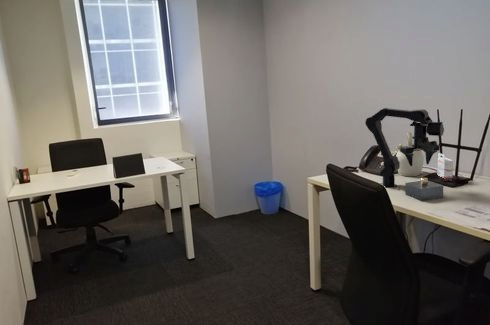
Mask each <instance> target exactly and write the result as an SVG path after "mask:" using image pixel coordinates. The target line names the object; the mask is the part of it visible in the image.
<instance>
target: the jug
mask: <svg viewBox="0 0 490 325" xmlns="http://www.w3.org/2000/svg"><path fill="white" fill-rule="evenodd" d="M412 137H413V134H412V132H407V133H406V143H407V145H406V146H409V147H412V145H413V139H412ZM401 147H404V145H403V144H402V143H400V144H397V145H396V146H395V148H396V149H398V151H397V152H396V156H395V157H397V158H398V161H399V162H400V164H399V165H400V167H399V169H398V170H397V173H398V175H400V176H403V177H416V176H420V175H421V173H422V171H423V167H424V166H423V165H424V161H425V159H424V158H425V157H424V154H423V152H422V150H419V151H414V152H413V154H414V155H413V158H412V166H410V164H409V162H408V160H407V158H406V156H405V154H403V153H402V152H400V148H401Z"/></svg>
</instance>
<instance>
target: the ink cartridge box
mask: <svg viewBox="0 0 490 325" xmlns="http://www.w3.org/2000/svg"><path fill="white" fill-rule="evenodd" d="M437 153H438V155H437V172H436V173H437V175H438V176H440V177H442V178H444V179H446V178H454V160H453V159H450V158H447V157H446V155H445V154H443V153H441V152H437Z"/></svg>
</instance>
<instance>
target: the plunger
mask: <svg viewBox="0 0 490 325" xmlns="http://www.w3.org/2000/svg"><path fill="white" fill-rule="evenodd" d="M419 181H420V184H421V185H427V184H428V181H429V180H428V177H420V180H419Z"/></svg>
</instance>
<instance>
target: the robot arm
mask: <svg viewBox="0 0 490 325" xmlns="http://www.w3.org/2000/svg"><path fill="white" fill-rule="evenodd" d="M386 117H393V118H400V119H401V118H402V119H408V120H410V121H412V122H411V124H409V126H410V127H414V128H413V129H414V130H413V131H414V132H413V136H412V140H413V143H412V147H409V146H407V145H406V146H404V145H403V147H401V148H400V152H402V153H403V154H405V156H406V158H407V160H408V162H409V164H410V166H412V158H413V155H414V154H413V152H414V151H419V150H421V151H423V152H424V153H425V163H426V165H429V164H430V162H431V159H432V157H433V155H434V154H435V153H438V151H440V150H441V147H440V145H439V144H438V141H436V140H431V141H430V140H429V137H428V136H433V137H435V136H437V137H442V136H443V135H444V132H445V127H444V123H443V121H433V119H432V118H431V117H430V116H429V112H428V111H427V110H426V109H413V110H410V109H409V110H408V109H407V110H406V109H399V108H388V107H383V108H381V109H379V111H377V112H376V113H375V114H373V115H371V116H370V117H367V118H365V122H364V123H365V125H366V127H367V129H368V131H369V132H370V133H371V134H372V136H373V137H374V139H375V142H376V144H377V146H378V149H379V151H380V153H381V156H382V158H383V159H382V160H383V163H382V165H383V167H384V168H383V169H381V170H380V171H379V173H380V176H381V177H382V183H381V184H383V185H384V186H385V187H384V186H383V187H384V188H392V187H397V186H398V184H396V183H395V182H396V181H395V174H396V173H397V172H398V169H399V167H400V165H399V164H400V162H399V161H398V158H397V157H396V156H394V155H393V154H392V152H391V150H390V147H389V144H388V142H387V140H386V138H385V135H384V133H383V129H382V128H383V127H382V121H383V120H384V119H385V118H386ZM427 135H428V136H427Z"/></svg>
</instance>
